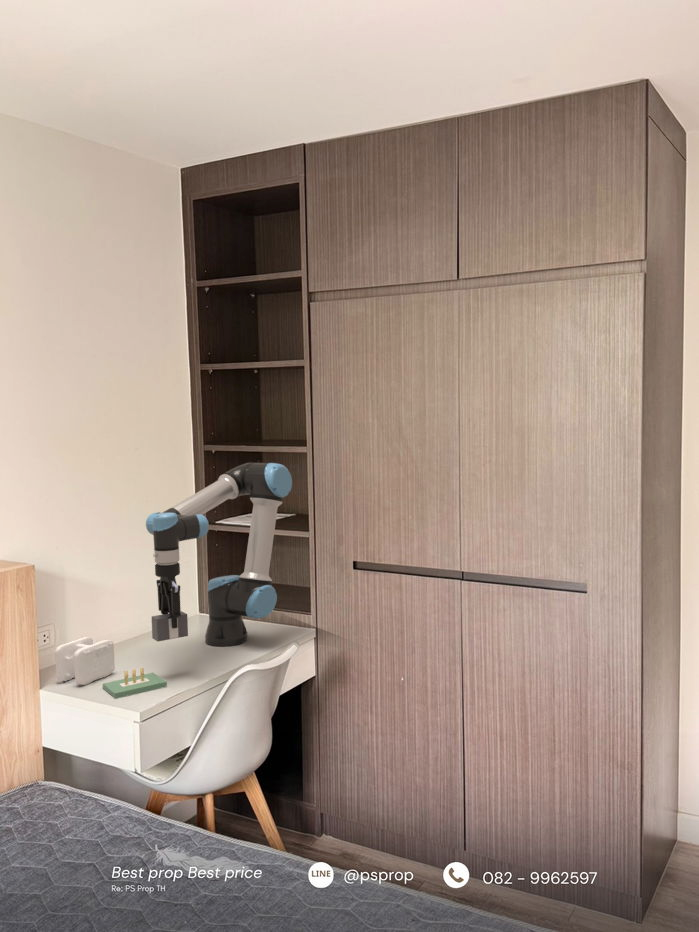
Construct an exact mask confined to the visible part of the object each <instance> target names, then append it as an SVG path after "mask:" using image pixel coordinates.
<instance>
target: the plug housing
mask: <svg viewBox="0 0 699 932" xmlns="http://www.w3.org/2000/svg"><path fill="white" fill-rule="evenodd" d="M167 617H170V615H169V613H168V614H163V615H162V614H158V615H151V634H152V635H151V636H152V637H151V638H152V639H153V640H154V641H156V642H162V641H163V642H164V641H169V640H170V639H169V620H168V618H167ZM188 624H189V623H188V613H186V612H183V611H181V616H179V617H178V638H177V639H180V638H184V637H188V636H189V625H188ZM174 639H176V638H173V639H172V640H174Z"/></svg>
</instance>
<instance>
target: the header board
mask: <svg viewBox="0 0 699 932" xmlns="http://www.w3.org/2000/svg"><path fill="white" fill-rule="evenodd" d="M139 670H140V675H137V672H136V671H137V670H136V669H135V668H134V669H132V670H131V671H132V676H131V677H129V674H128V673H129V672H128V670H125V671H124V673H123V675H124V676H123V677H124V678H122V679H117V680H113V681H109V682H104V683H102V689H103V690H104V691H105V690H106V691H105V692H106V693H108V694H109V695H110V694H111V695H112V696H111V695H110V696H111V697H113V698H114V699H119V698H123V696H124V697H128V696H132V695H137V694H140V693H145V692H149V691H153V690H157V689H162V687H163V688H166V686H167V687H168V684H167V681H166V680H165V679H164V678H162V677H161V676H159V675H158V674H156V673H155V672H150V673H145V672H144V671H145V669H144V667H140V668H139ZM131 694H132V695H131ZM127 695H128V696H127Z"/></svg>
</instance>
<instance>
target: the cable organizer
mask: <svg viewBox="0 0 699 932" xmlns="http://www.w3.org/2000/svg"><path fill="white" fill-rule="evenodd" d="M114 648H115V647H114V641H113V640H110V639H104V640H100V641H98V642H94V639H93V638H92V637H89V636H84V637H81V638H79V639H75V640H73V641H70V642H66V643H64V644H60V645H59V646H57V647H56V648H55V651H54V652H55V653H54V655H55V657H54V658H55V672H56V674H55V677H56V679H57V680H58V681H62V682H63V681H66V682H68V681H67V680H69V681H71V680H73V679H74V680H75V681H74V682H75V683H76V684H77V685H82V686H86V685H89V684H92V682H93V681H96V680H99V679H100V680H101V679H103V677H104V678H106V677H108V675H111V674H113V672H114V671H115V669H116V664H115V649H114ZM72 678H73V679H72ZM70 679H71V680H70Z"/></svg>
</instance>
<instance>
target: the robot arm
mask: <svg viewBox="0 0 699 932" xmlns="http://www.w3.org/2000/svg"><path fill="white" fill-rule="evenodd" d="M292 487H293V478H292V475H291V472H290V471H289V469H288V468H287V467H286V466H285V465H284V464H280V463H277V462H276V463H275V462H246V463H243V464H240V465H238V466H236V467H234V468H232V469H229V470H228V471H226V472H224V473H223V474H220V475H219V477H218V478H217V480H215V482H213V483H211V484H209V485H208V486H206V487H204V488H202V489H200V490H199V491H197V492H195V493H194V494H192V495H191V496H189V497H186V498H185V499H184V500H182V501H180V502H178V503H176V504H175V505H173V506H171V507H170V508H167V509H166V510H163V512H159V511H158V512H153V513H151V514H149V515H148V516H147V518H146V520H145V527H146V530H147V532H148V533H149V534H150V535H152V536H153V546H154V547H153V549H154V553H153V558H154V563H155V565H154V572H155V573H154V575H155V576H156V577H158V578H159V579H157V580H156V587H157V603H158V604H157V605H158V606H157V607H158V611H160V615H163V614H169V615H170V617H167V618H168V620H169V640H174V639H173V638H175V639H179V638H178V617H179V616H181V609H182V608H181V585H180V584H179V585H178V584H177V580H176V576H179V575H180V574H181V567H180V565H181V564H180V562H179V561H181V560H180V546H179V545H180V543H179V542H183V541H189V540H195V539H197V540H198V539H199V538H203V537H205V536H206V535H208V532H209V529H210V527H209V524H210V523H209V521H208V519H207V517H206V516H205V515H204V514H206V513H208V512H209V511H211V510H212V509H214V508H216V507H218V506H219V505H221V504H222V503H224V502H225V501H227V500H234V499H237V498H238V497H240V496H247V495H248V496H249V499H250V501H251V502H252V505H253V506H252V512H251V519H250V520H251V521H250V526H249V527H250V528H249V534H248V535H249V536H248V540H247V541H248V542H247V548H246V549H247V550H246V556H245V561H244V563H245V564H244V569H243V570H244V571H243V572H242V573H241V574H240V575H239V574H237V575H236V574H231V575H222V576H218V577H214V578H211V579H209V581H208V583H207V600H208V604H207V605H208V616H209V618H208V624H207V627H206V628H207V629H206V632H205V635H204V639H205V640H204V642H205V643H206V644H207V645H209V646H213V647H230V646H236V645H237V646H238V645H240V644H243V643H245V642H247V641H248V639H249V637H248V636H249V635H248V634H249V633H248V631H247V627H246V625H245V622H244V619H243V617H248V618H250V619H263V618H266V617H267V616H269V615H270V614H271V613H272V612H273V611H274V609H275V607H276V604H277V601H278V599H277V598H278V595H277V592H276V589H275V588H274V586H272V584H273V580H272V578H271V577H270V568H271V567H270V566H271V560H272V550H273V546H274V545H273V543H274V536H275V531H276V530H275V528H276V522H277V515H278V507H279V506H281V505H282V504H283V502H284V498H285V497H287V496H289V493H290V492H291V491H292V489H293V488H292Z"/></svg>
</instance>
